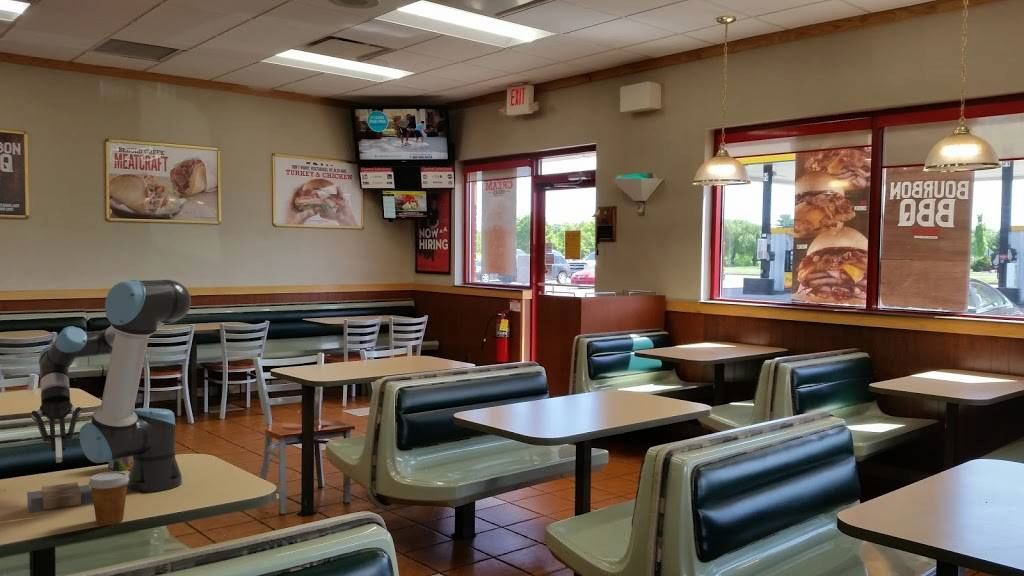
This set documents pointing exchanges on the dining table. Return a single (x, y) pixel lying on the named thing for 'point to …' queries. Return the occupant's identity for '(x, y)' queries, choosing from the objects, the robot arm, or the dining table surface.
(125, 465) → the chalk box
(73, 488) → the menu board
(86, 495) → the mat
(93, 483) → the disposable coffee cup
